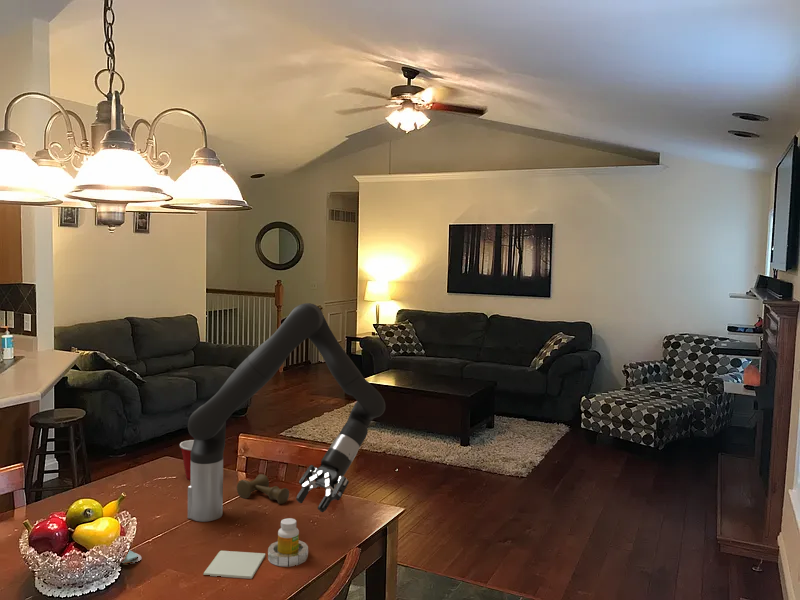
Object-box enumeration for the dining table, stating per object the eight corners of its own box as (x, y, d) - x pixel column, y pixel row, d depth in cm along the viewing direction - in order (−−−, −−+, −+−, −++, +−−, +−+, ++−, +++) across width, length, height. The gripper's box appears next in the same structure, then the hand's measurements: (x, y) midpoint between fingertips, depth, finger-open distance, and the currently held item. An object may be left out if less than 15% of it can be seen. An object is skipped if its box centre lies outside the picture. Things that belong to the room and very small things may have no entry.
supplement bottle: (294, 563, 167) (294, 526, 166) (274, 560, 168) (274, 524, 167) (301, 553, 172) (302, 518, 171) (282, 551, 173) (282, 515, 173)
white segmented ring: (263, 565, 166) (263, 555, 165) (274, 547, 175) (274, 538, 175) (302, 567, 165) (302, 558, 165) (310, 549, 175) (311, 540, 175)
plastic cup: (210, 482, 221) (211, 447, 220) (177, 483, 219) (177, 448, 218) (213, 471, 231) (213, 438, 230) (181, 472, 229) (181, 439, 228)
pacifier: (132, 552, 170) (109, 560, 166) (132, 529, 170) (110, 536, 165) (146, 562, 166) (123, 570, 161) (147, 538, 165) (124, 545, 161)
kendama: (273, 510, 201) (227, 493, 212) (294, 501, 209) (249, 485, 220) (274, 491, 201) (228, 475, 211) (295, 483, 209) (250, 468, 219)
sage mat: (203, 575, 159) (203, 573, 159) (220, 552, 171) (220, 550, 171) (251, 578, 159) (251, 576, 159) (265, 555, 171) (265, 553, 171)
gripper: (316, 441, 185) (284, 492, 177) (352, 453, 176) (320, 506, 168) (329, 455, 189) (298, 505, 181) (365, 467, 180) (334, 520, 172)
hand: (309, 506), depth 175 cm, fingers open, 8 cm apart
